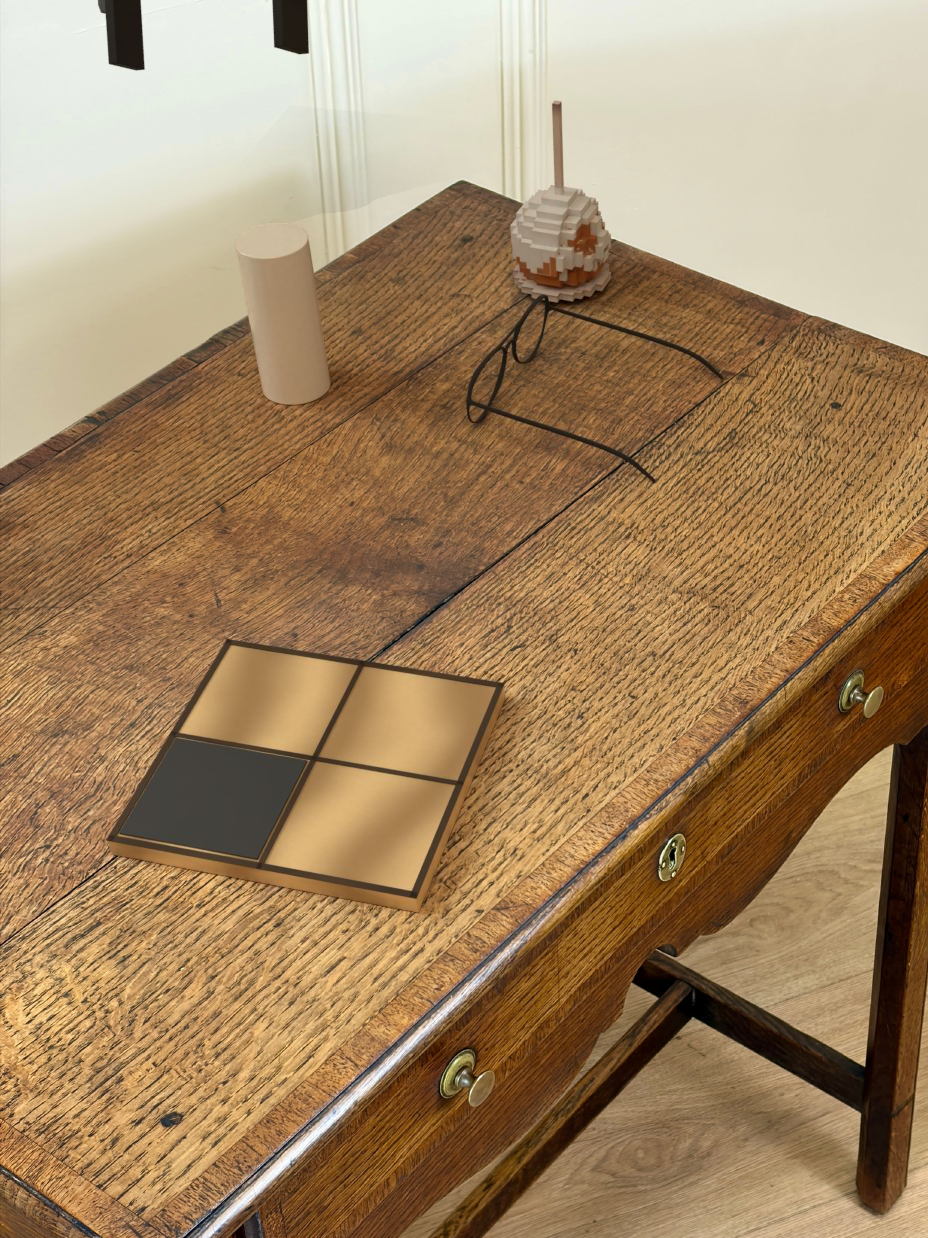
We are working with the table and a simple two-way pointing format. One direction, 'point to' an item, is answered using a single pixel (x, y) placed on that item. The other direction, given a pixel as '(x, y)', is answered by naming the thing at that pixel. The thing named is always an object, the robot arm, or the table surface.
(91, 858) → the table surface
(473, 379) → the glasses
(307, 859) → the board
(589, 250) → the caramel apple
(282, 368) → the cream cylinder
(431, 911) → the table surface
